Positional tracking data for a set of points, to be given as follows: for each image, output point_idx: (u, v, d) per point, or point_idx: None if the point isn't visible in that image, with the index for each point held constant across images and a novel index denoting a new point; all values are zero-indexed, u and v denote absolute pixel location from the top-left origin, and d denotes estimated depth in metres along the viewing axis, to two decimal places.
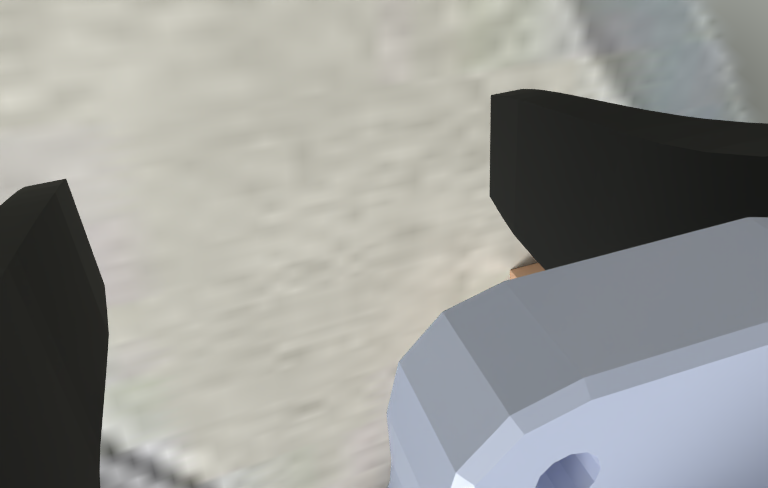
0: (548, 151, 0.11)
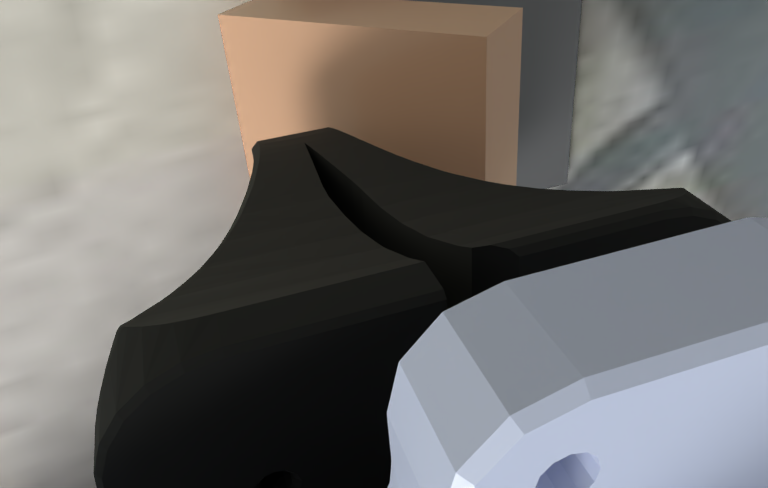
0: None
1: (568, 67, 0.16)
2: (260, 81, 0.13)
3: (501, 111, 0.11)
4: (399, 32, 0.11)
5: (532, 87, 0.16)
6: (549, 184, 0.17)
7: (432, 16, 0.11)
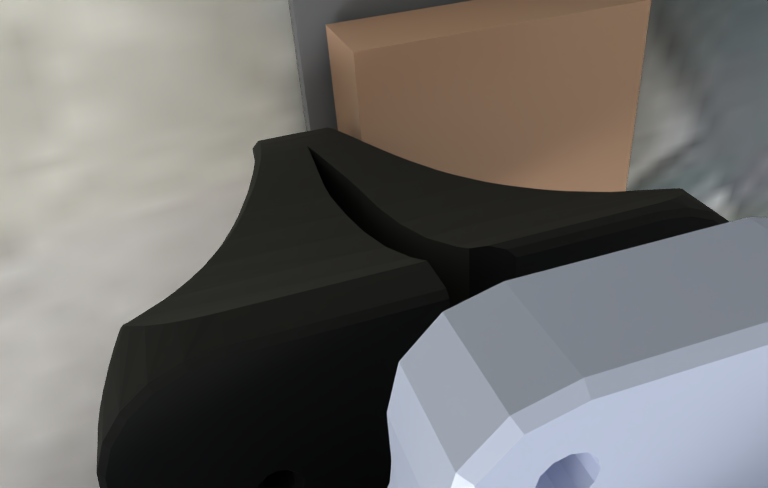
0: None
1: None
2: (401, 117, 0.11)
3: None
4: (574, 16, 0.11)
5: None
6: None
7: (557, 0, 0.12)
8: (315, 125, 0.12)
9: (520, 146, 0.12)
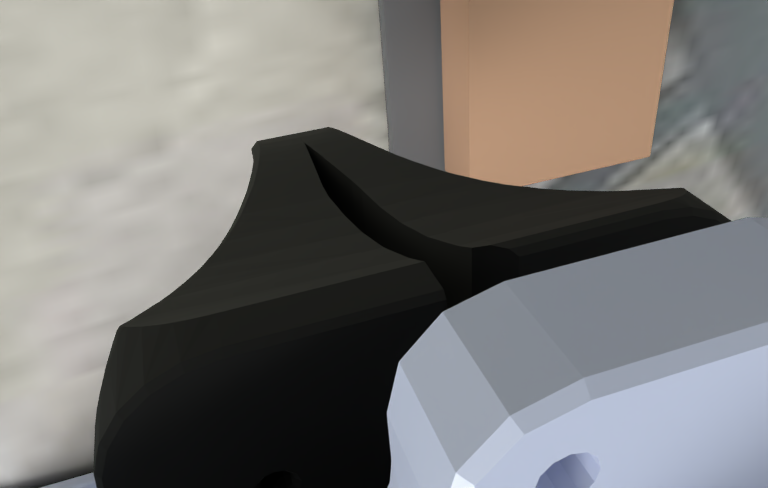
0: None
1: None
2: (498, 34, 0.15)
3: None
4: None
5: None
6: None
7: None
8: (390, 52, 0.16)
9: (581, 60, 0.16)
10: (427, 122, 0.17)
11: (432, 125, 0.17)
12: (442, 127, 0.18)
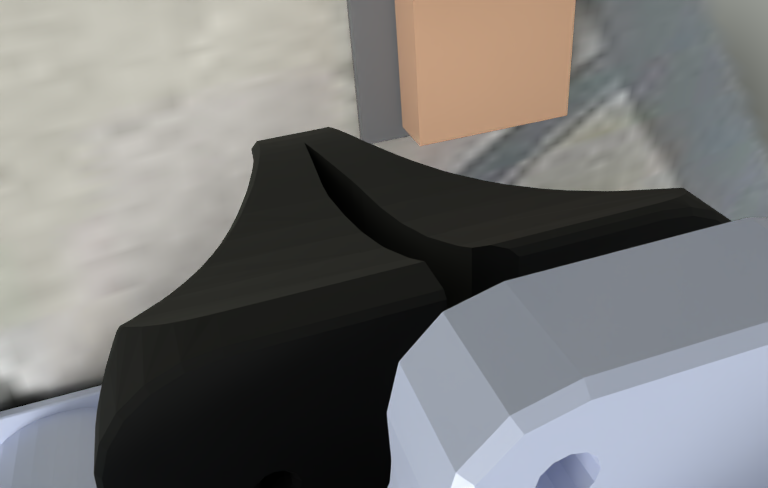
0: None
1: None
2: (436, 13, 0.19)
3: None
4: None
5: None
6: None
7: None
8: (356, 29, 0.21)
9: (504, 35, 0.20)
10: (387, 87, 0.22)
11: (391, 89, 0.22)
12: (399, 91, 0.22)
